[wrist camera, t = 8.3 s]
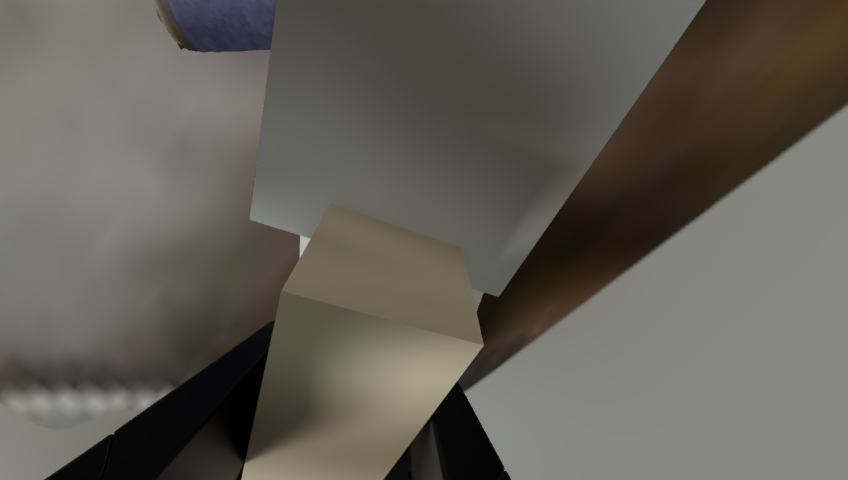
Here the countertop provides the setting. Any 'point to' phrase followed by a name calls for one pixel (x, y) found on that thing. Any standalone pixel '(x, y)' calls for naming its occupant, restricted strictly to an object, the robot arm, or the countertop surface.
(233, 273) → the countertop surface
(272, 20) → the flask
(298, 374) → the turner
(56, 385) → the countertop surface
